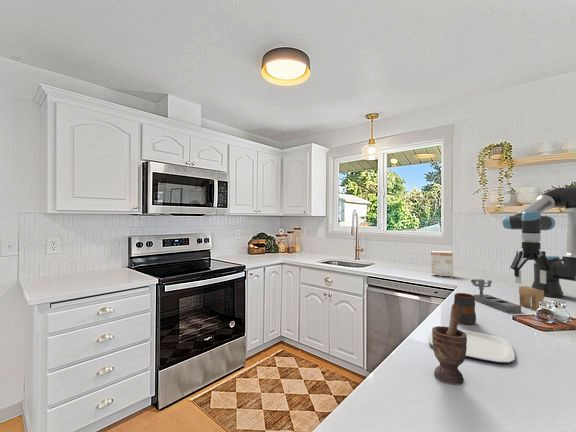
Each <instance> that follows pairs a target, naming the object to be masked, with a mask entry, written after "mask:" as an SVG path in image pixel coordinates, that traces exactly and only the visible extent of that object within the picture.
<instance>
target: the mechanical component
mask: <svg viewBox="0 0 576 432" xmlns="http://www.w3.org/2000/svg"><path fill="white" fill-rule="evenodd" d="M470 282H471V284H472V285H473V286H474V287H478V290H479V295H484V290H485V288H490V287H491V285H492V280H490V279H488V280H487V281H485V280H484V279H481V278H480V279H478V278H472V279H470Z"/></svg>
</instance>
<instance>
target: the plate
mask: <svg viewBox="0 0 576 432" xmlns="http://www.w3.org/2000/svg"><path fill="white" fill-rule="evenodd" d="M457 329H458V330H461V331H462V332H464V333H465V334H466V335H467V344H466V346H467V349H466V355H465V358H466V357H467V358H472V359H477V360H481V361H487V362H491V363H492V362H493V363H496V364H497V363H498V364H500V363H501V364H510V363H512V362H514V361H515V360H516V353H515V351H514V350H515V349H514V348H513V346H512V344H511V343H510V341H507V340H506V339H504V338H501V337H499V336H497V335H496V336H495V335H493V334H488V333H482V332H477V331H471V330H465V329H461V328H460V329H459V328H457ZM428 341H429V344H430V345H431V346H432V347H433V343H432V332H431V333H430V335H429V339H428Z"/></svg>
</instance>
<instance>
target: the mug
mask: <svg viewBox="0 0 576 432" xmlns="http://www.w3.org/2000/svg"><path fill="white" fill-rule="evenodd" d="M454 303H458V304H461V305H462V306H463V310H462V315H461V317H460V319H459V323H458V324H462V325H467V326H468V325H470V326H471V325H472V326H473V325H475V324H476V322H477V316H476V315H477V314H476V301H475V297H474V294H469V293H464V292H458V293H454V298H453V304H454Z"/></svg>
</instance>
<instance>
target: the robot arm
mask: <svg viewBox="0 0 576 432" xmlns="http://www.w3.org/2000/svg"><path fill="white" fill-rule="evenodd" d="M553 208H564V210H565V211H566V212H568V215H567V230H566V251H565V253H564V254H563V255H562V257H561V258H560V256H559V255H558V256H557V255H546V251H543V250H541V248H542V247H541V246H542V245H541V239H542V238H541V237H542V236H541V235H542V233H541V231H549V230H552V229H553V228H555V226H556V221H555V219H554V218H553V217H551V216H548V215H541V214H544V212H546V211H550V210H551V209H553ZM501 224H502V227H503V228H504V229H506V230H521V241H522V242H521V249H522V250H516V253H515V256H514V258H513V259H512V260H513V261H512V263H511V265H510V266H509V267H510V269H511V270H513V271H514V273H513V274H514V275H513V276H514V278H515V281H514V282H515V283H516V284H521V285H522V270H521V269H522V268H523V266H524V265H525V264H526V263H527V262H528V261H533V282H532V284H531V288H535V289H539V290H543V291H544V297H550V298H563V297H564V291H563V290H562V286H561V283H560V280H565V281H572V282H576V186H567V187H566V186H565V187H557V188H553V189H550V190H548V191H546V192H544V193H541V194H540V195H539V196H538V197H537V198H536V199H535V201H533V202H531V203H530V204H529V205H527V206H526V207H524V208H523V209H521V210H520V211H518V212H517V213H515V214H514V215H507V216H504V217H503V218H502V223H501Z"/></svg>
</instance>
